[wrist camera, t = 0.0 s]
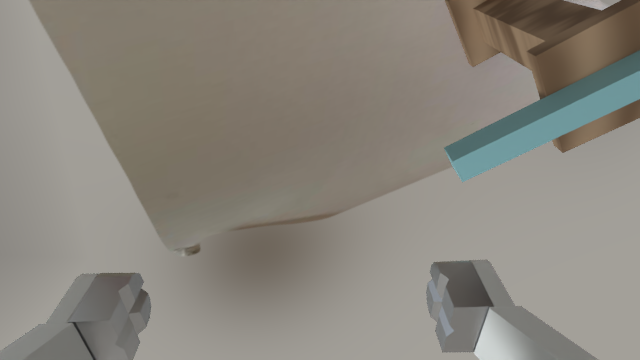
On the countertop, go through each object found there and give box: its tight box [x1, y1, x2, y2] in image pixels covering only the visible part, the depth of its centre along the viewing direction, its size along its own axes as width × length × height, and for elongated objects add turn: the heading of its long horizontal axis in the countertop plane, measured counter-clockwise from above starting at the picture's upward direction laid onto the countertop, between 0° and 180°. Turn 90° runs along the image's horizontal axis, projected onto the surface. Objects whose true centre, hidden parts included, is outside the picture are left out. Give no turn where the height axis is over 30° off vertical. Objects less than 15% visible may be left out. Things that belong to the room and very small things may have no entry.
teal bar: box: [444, 50, 640, 182], centre depth 30 cm, size 24×2×2 cm, turn 121°
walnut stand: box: [445, 0, 640, 153], centre depth 42 cm, size 12×10×26 cm
